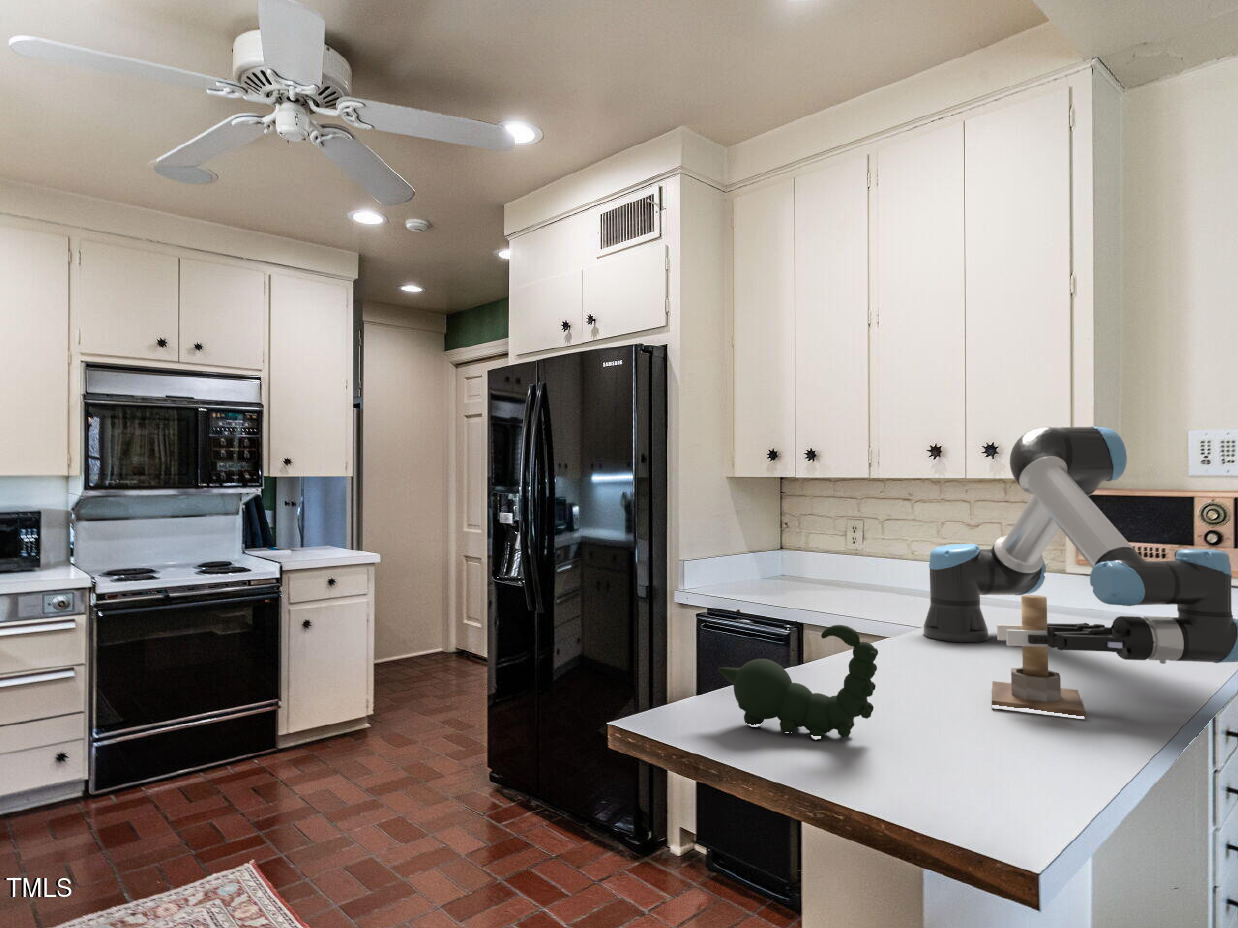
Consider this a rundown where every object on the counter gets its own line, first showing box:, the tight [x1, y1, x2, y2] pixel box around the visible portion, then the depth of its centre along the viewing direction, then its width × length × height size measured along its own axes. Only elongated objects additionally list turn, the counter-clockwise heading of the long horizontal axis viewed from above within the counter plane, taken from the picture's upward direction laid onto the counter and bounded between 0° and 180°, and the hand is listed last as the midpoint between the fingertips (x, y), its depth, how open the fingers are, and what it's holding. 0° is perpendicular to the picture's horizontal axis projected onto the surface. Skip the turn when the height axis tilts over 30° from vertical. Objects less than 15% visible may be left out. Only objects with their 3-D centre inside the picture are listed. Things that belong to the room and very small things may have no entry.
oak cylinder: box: [1020, 594, 1049, 677], centre depth 134 cm, size 4×4×16 cm
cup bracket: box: [991, 666, 1086, 718], centre depth 134 cm, size 14×14×6 cm
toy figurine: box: [717, 624, 879, 738], centre depth 120 cm, size 9×19×25 cm
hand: (1002, 634), depth 135 cm, fingers closed on oak cylinder, 4 cm apart
